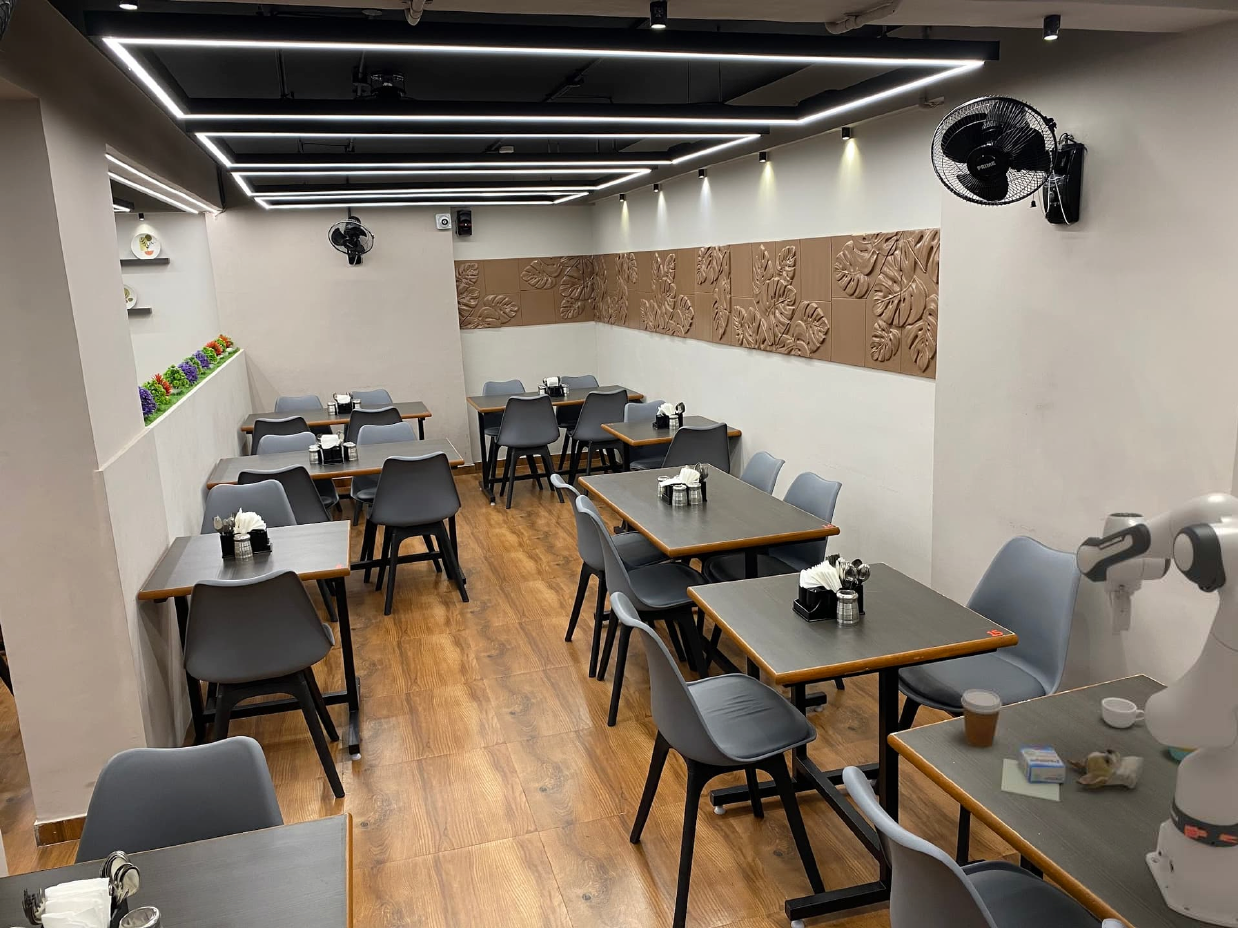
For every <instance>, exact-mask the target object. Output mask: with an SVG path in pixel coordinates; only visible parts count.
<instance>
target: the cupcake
mask: <svg viewBox="0 0 1238 928" xmlns="http://www.w3.org/2000/svg"><path fill="white" fill-rule="evenodd" d="M1167 746H1168V748H1169V751H1170V755H1171V757H1172V758H1174V760H1177V761H1180V762H1181V761H1182V760H1183V759H1184V758H1185V757H1186V756H1188V755H1189V754H1191V753H1193V752H1195V751H1196V750H1198V749H1188V748H1181V747H1175V746H1169V745H1167Z"/></svg>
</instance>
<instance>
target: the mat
mask: <svg viewBox="0 0 1238 928" xmlns="http://www.w3.org/2000/svg"><path fill="white" fill-rule="evenodd" d="M1000 792H1005V793H1008V794H1016V795H1020V796H1026V797H1031V798H1036V799H1041V800H1047V801H1051V802H1056V803H1060V783H1030V782H1029V781H1028V779H1027V778H1026V776H1025V774H1024V773H1023V771H1022V769H1021V768H1020V766H1019V765H1018V760H1015V759H1008V758H1003V763H1002V773H1001V788H1000Z"/></svg>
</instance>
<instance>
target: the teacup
mask: <svg viewBox="0 0 1238 928" xmlns="http://www.w3.org/2000/svg"><path fill="white" fill-rule="evenodd" d="M1140 713H1142V714H1143V716H1142V717H1139V718H1138V717H1137V716H1138V715H1139V714H1140ZM1101 715H1102V718H1103V720H1104V721H1105V722H1106V724H1107V725H1109V726H1111V727H1113V728H1117V729H1126V728H1128V727H1130V726H1131V725H1133V724H1134V723H1135V722H1138V721H1142V720H1145V717H1144V711H1143V710H1141V709H1138V708H1137V706H1136V704H1135V703H1134V702H1131V701H1130V700H1127V699H1125V698H1120V697H1106V698H1103V699H1102V700H1101Z"/></svg>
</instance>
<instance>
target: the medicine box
mask: <svg viewBox="0 0 1238 928" xmlns="http://www.w3.org/2000/svg"><path fill="white" fill-rule="evenodd" d="M1017 752H1018V753H1017V761H1018V765H1019V766H1020V768H1021V769H1022V771H1023V773H1024V774H1025V776H1026V778H1027V779H1028V781H1029V782H1030V783H1059V784H1065V780H1066V779H1065V778H1066V766H1065V764H1064V763H1063V761H1062V760H1061V758H1060V757H1059V755H1058V754H1057V752H1056V751H1055V750H1054V748H1053V747H1046V746H1045V747H1041V746H1040V747H1038V746H1037V747H1035V746H1034V747H1030V746H1029V747H1027V746H1025V747H1023V746H1022V747H1021V746H1020V747H1018V750H1017Z"/></svg>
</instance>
